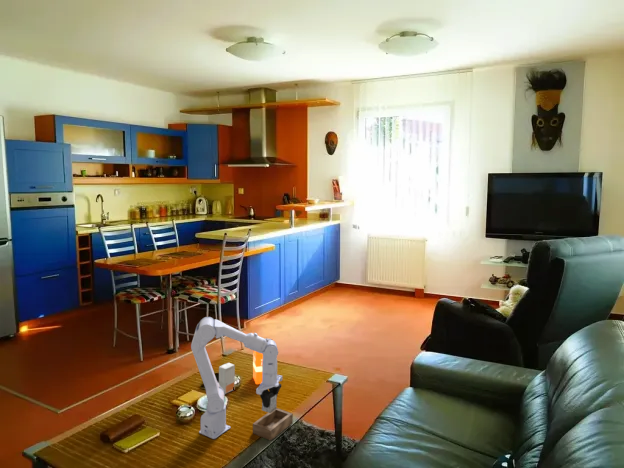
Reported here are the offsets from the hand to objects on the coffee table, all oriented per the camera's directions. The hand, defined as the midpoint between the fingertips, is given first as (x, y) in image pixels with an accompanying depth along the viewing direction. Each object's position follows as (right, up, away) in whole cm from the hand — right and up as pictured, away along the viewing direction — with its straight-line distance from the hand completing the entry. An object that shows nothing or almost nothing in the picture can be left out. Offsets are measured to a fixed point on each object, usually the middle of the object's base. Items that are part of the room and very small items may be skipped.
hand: (269, 404), depth 184 cm
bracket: (0, -2, 0) cm, 2 cm away
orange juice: (-7, -3, +41) cm, 41 cm away
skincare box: (-22, -5, +29) cm, 37 cm away
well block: (+1, -9, 0) cm, 9 cm away
